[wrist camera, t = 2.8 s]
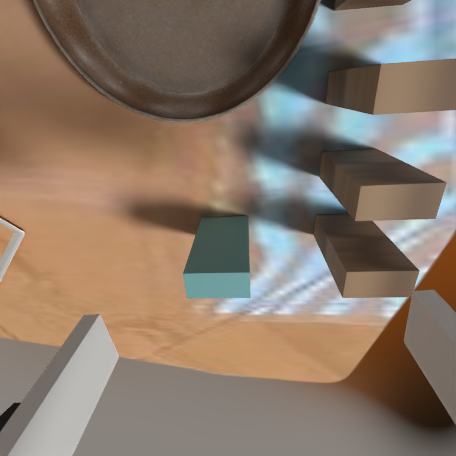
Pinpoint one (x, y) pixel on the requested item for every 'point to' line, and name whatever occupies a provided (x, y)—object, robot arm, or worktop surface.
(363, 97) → the domino
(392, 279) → the domino
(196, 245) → the domino
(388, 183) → the domino
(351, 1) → the domino
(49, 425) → the robot arm
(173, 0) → the plant saucer
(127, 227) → the worktop surface
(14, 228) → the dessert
